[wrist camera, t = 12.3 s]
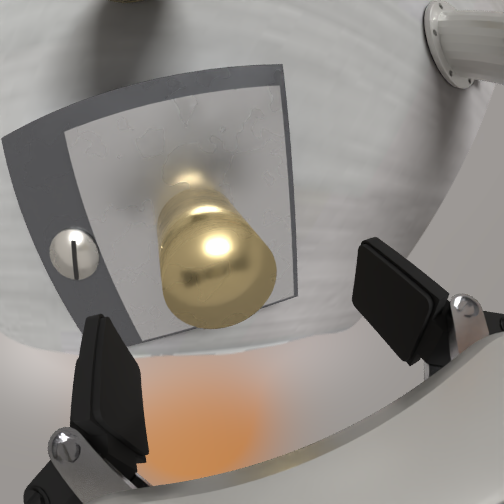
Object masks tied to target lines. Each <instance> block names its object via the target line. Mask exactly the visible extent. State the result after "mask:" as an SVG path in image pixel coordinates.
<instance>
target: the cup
mask: <svg viewBox="0 0 504 504" xmlns="http://www.w3.org/2000/svg"><path fill="white" fill-rule="evenodd" d="M110 1H114V2H121V3H130V2H139V1H143V0H110Z"/></svg>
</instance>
